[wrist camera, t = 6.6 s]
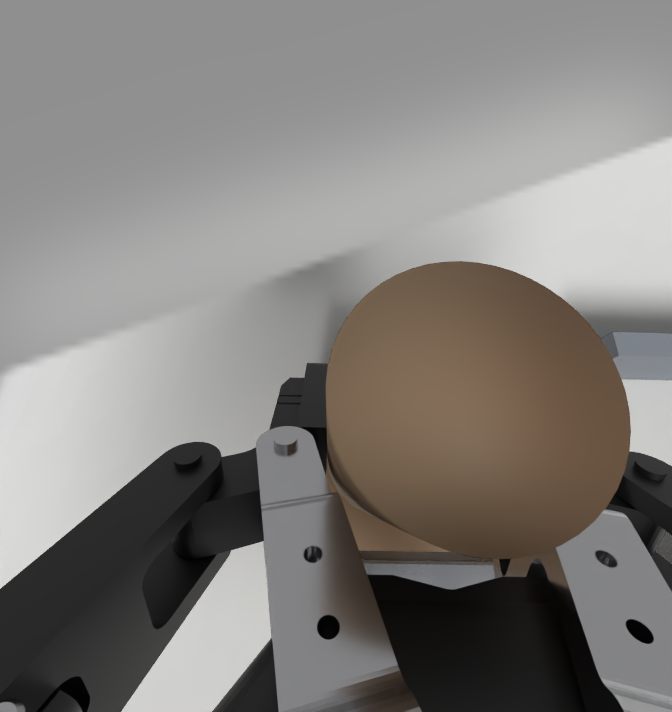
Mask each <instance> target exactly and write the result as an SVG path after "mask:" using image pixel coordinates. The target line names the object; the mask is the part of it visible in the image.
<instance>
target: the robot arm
mask: <svg viewBox="0 0 672 712" xmlns="http://www.w3.org/2000/svg"><path fill="white" fill-rule="evenodd" d="M327 367H328V364H320V363H307V366H306V372H305V378H289V379H288V380H287V381H286V382H285V383H284V384H283V385H281V389H280V393H279V397H278V400H277V404H276V408H275V411H274V415H273V419H272V422H271V426H270V430H268V431H267V432H265V433H264V434H262V435H261V436H260V437H259V439H258V440H257V443H256V448H254V449H252V450H250V451H247V452H244V453H240V454H235V455H230V456H225V457H221V453H220V451H219V449H218V448H217V447H215V446H214V445H212V444H209V443H204V442H192V443H186V444H182V445H179V446H176V447H174V448H172V449H170V450H168V451H167V452H165V453H164V454H163V455H162V456H160V457H159V458H158V459H157V460H156V461H154V462H153V463H152V464H151V465H149V466H148V467H147V468H146V469H145V470H143V471H142V472H141V473H140V474H139V475H137V476H136V477H135V478H134V479H133V480H131V481H130V482H129V483H128V484H127V485H125V486H124V487H123V488H122V489H120V490H119V491H118V492H117V493H116V494H114V495H113V496H112V497H111V498H110V499H108V500H107V501H106V502H105V503H104V504H102V505H101V506H100V507H99V508H98V509H96V510H95V511H94V512H93V513H91V514H90V515H89V516H88V517H87V518H85V519H84V520H83V521H82V522H81V523H79V524H78V525H77V526H76V527H75V528H73V529H72V530H71V531H70V532H69V533H67V534H66V535H65V536H64V537H62V538H61V539H60V540H59V541H58V542H56V543H55V544H54V545H53V546H52V547H50V548H49V549H48V550H47V551H46V552H44V553H43V554H42V555H41V556H40V557H38V558H37V559H36V560H35V561H33V562H32V563H31V564H30V565H29V566H27V567H26V568H25V569H24V570H23V571H21V572H20V573H19V574H18V575H17V576H15V577H14V578H13V579H12V580H11V581H9V582H8V583H7V584H6V585H4V586H3V587H2V588H1V589H0V712H121V711H122V709H123V708H124V706H125V705H126V703H127V702H128V701H129V699H130V698H131V696H132V695H133V693H134V692H135V690H136V689H137V688H138V686H139V685H140V683H141V682H142V680H143V679H144V677H145V676H146V675H147V673H148V672H149V670H150V669H151V667H152V666H153V664H154V663H155V662H156V660H157V659H158V657H159V656H160V654H161V653H162V652H163V650H164V649H165V647H166V646H167V644H168V643H169V641H170V640H171V639H172V637H173V636H174V634H175V633H176V631H177V630H178V628H179V627H180V626H181V624H182V623H183V621H184V620H185V618H186V617H187V615H188V614H189V613H190V611H191V610H192V608H193V607H194V605H195V604H196V602H197V601H198V600H199V598H200V597H201V595H202V594H203V592H204V591H205V589H206V588H207V587H208V585H209V584H210V582H211V581H212V579H213V578H214V576H215V575H216V574H217V572H218V571H219V569H220V568H221V566H222V565H223V563H224V562H225V561H226V559H227V558H228V556H229V554H230V552H231V550H233V549H237V548H240V547H244V546H248V545H251V544H255V543H258V542H262V541H264V552H265V564H266V576H267V588H268V601H269V613H270V625H271V639H270V640H269V642H268V643H267V644H266V645H265V647H264V648H263V649H262V650H261V652H260V653H259V654H258V655H257V657H256V658H255V659H254V660H253V662H252V663H251V664H250V665H249V667H248V668H247V669H246V670H245V672H244V673H243V674H242V675H241V677H240V678H239V679H238V680H237V682H236V683H235V684H234V685H233V687H232V688H231V689H230V690H229V692H228V693H227V694H226V695H225V696H224V698H223V699H222V700H221V701H220V703H219V704H218V705H217V706H216V708H215V709H214V710H213V711H212V712H672V565H671V564H670V563H669V562H668V561H666V560H665V559H664V558H663V557H661V556H660V555H659V554H658V553H656V552H655V550H656V549H657V547H658V545H659V543H660V541H661V540H662V538H663V536H664V534H665V532H666V531H667V532H668V533H670V534H671V535H672V466H670V465H668V464H666V463H665V462H663V461H660V460H658V459H656V458H653V457H651V456H648V455H645V454H641V453H636V452H629V454H628V459H627V463H626V468H625V471H624V474H623V476H622V479H621V482H620V484H619V487H618V489H617V491H616V492H615V494H614V496H613V497H612V499H611V501H610V503H609V504H608V506H607V507H606V508H605V510H604V511H603V512H602V513H601V514H600V515H599V517H598V518H597V519H596V520H595V521H594V522H593V523H592V524H591V525H590V526H589V527H587V528H586V529H585V530H584V531H583V532H581V533H580V534H579V535H578V536H576V537H574V538H573V539H571V540H569V541H568V542H566V543H564V544H562V545H561V546H558V547H556V548H553V549H551V550H548V551H545V552H543V553H540V554H535V555H531V556H526V557H522V558H511V559H492V561H493V568H494V574H495V579H491V580H488V581H484V582H480V583H477V584H473V585H469V586H466V587H462V588H458V589H445V588H441V587H437V586H433V585H430V584H426V583H422V582H418V581H414V580H410V579H407V578H403V577H399V576H395V575H368V574H367V573H366V570H365V567H364V564H363V561H362V558H361V555H360V552H359V549H358V546H357V543H356V540H355V537H354V534H353V531H352V529H351V526H350V523H349V520H348V517H347V514H346V511H345V508H344V505H343V502H342V499H341V497H340V495H339V493H338V492H334V493H331V491H330V488H329V485H328V481H327V478H326V470H327V421H326V377H327Z"/></svg>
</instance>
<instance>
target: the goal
mask: <svg viewBox="0 0 672 712" xmlns="http://www.w3.org/2000/svg"><path fill="white" fill-rule="evenodd" d="M601 340H602V342H603V343H604V345H605V347H606V348H607V350H608V352H609V353H610V355H611V357H612V359H613V361H614V363H615V365H616V367H617V370H618V372H619V374H620V377H621V379H641V380H672V333H640V332H612V333H610V334H608V335H606V336H605V337H603V338H601Z"/></svg>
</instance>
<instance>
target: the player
mask: <svg viewBox="0 0 672 712" xmlns="http://www.w3.org/2000/svg"><path fill="white" fill-rule="evenodd" d="M326 421H327V470H326V478H327V481H328V485H329V488H330V491H331V493H334V492H338V493H339V495H340V497H341V499H342V502H343V505H344V508H345V511H346V514H347V517H348V520H349V523H350V526H351V529H352V531H353V534H354V537H355V540H356V543H357V546H358V549H359V551H412V552H453V553H458V554H462V555H466V556H470V557H476V558H487V559H511V558H522V557H526V556H531V555H535V554H540V553H543V552H545V551H548V550H551V549H553V548H556V547H558V546H561V545H562V544H564V543H566V542H568V541H569V540H571V539H573V538H574V537H576V536H578V535H579V534H580V533H581V532H583V531H584V530H585V529H586V528H587V527H589V526H590V525H591V524H592V523H593V522H594V521H595V520H596V519H597V518H598V517H599V515H600V514H601V513H602V512H603V511H604V510H605V508H606V507H607V506H608V504H609V503H610V501H611V499H612V497H613V496H614V494H615V492H616V491H617V489H618V487H619V484H620V482H621V479H622V476H623V474H624V471H625V468H626V463H627V459H628V454H629V447H630V434H631V429H630V413H629V407H628V402H627V397H626V392H625V389H624V386H623V383H622V380H621V377H620V374H619V372H618V370H617V367H616V365H615V363H614V361H613V359H612V357H611V355H610V353H609V352H608V350H607V348H606V347H605V345H604V343H603V342H602V340H601V339H600V337H599V336H598V335H597V334H596V332H595V331H594V330H593V328H592V327H591V326H590V325H589V323H588V322H587V321H586V320H585V319H584V318H583V317H582V316H581V315H580V314H579V313H578V312H577V311H576V310H575V309H574V308H573V307H572V306H570V305H569V304H568V303H567V302H566V301H564V300H563V299H562V298H561V297H559V296H558V295H556V294H555V293H554V292H552V291H551V290H549V289H548V288H546V287H544V286H543V285H541V284H539V283H537V282H535V281H533V280H532V279H530V278H527V277H525V276H523V275H520V274H518V273H516V272H513V271H510V270H507V269H503V268H500V267H497V266H492V265H487V264H482V263H474V262H462V261H460V262H441V263H434V264H427V265H423V266H420V267H416V268H412V269H410V270H407V271H405V272H402V273H400V274H397V275H395V276H393V277H392V278H390V279H388V280H386V281H385V282H383V283H381V284H380V285H379V286H377V287H376V288H375V289H373V290H372V291H371V292H369V293H368V294H367V295H366V296H365V297H364V298H363V299H362V300H361V301H360V302H359V303H358V304H357V305H356V306H355V308H354V309H353V310H352V312H351V313H350V314H349V316H348V317H347V318H346V320H345V322H344V324H343V325H342V327H341V329H340V331H339V332H338V335H337V337H336V340H335V342H334V345H333V347H332V350H331V354H330V359H329V363H328V367H327V377H326Z"/></svg>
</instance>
